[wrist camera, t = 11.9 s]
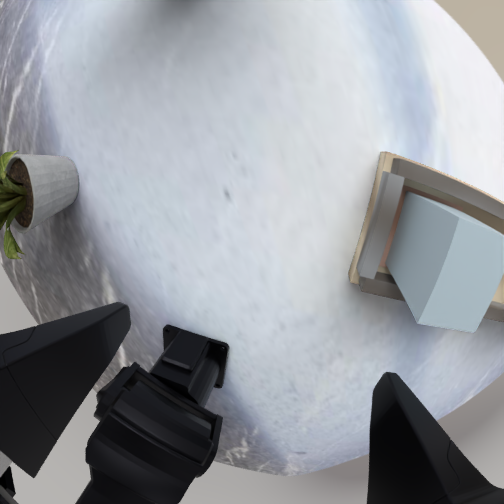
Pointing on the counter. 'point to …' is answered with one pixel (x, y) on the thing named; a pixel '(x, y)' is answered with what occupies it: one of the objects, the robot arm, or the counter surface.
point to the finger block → (445, 263)
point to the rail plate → (388, 212)
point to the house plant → (33, 192)
